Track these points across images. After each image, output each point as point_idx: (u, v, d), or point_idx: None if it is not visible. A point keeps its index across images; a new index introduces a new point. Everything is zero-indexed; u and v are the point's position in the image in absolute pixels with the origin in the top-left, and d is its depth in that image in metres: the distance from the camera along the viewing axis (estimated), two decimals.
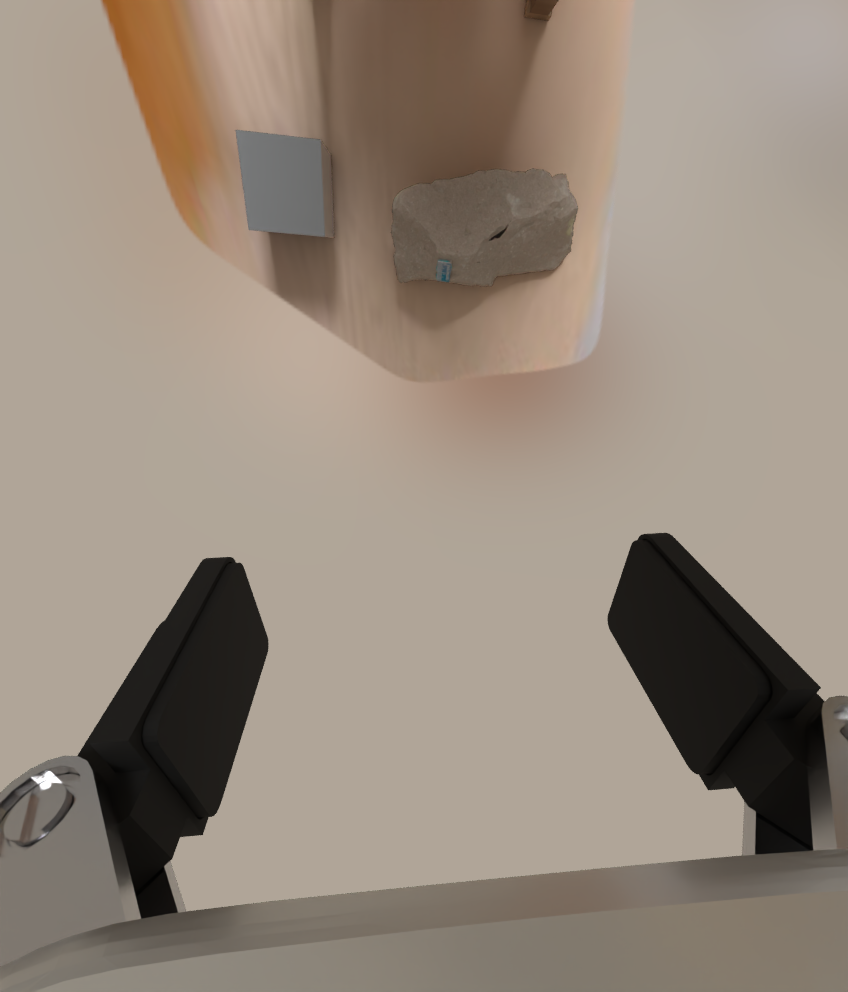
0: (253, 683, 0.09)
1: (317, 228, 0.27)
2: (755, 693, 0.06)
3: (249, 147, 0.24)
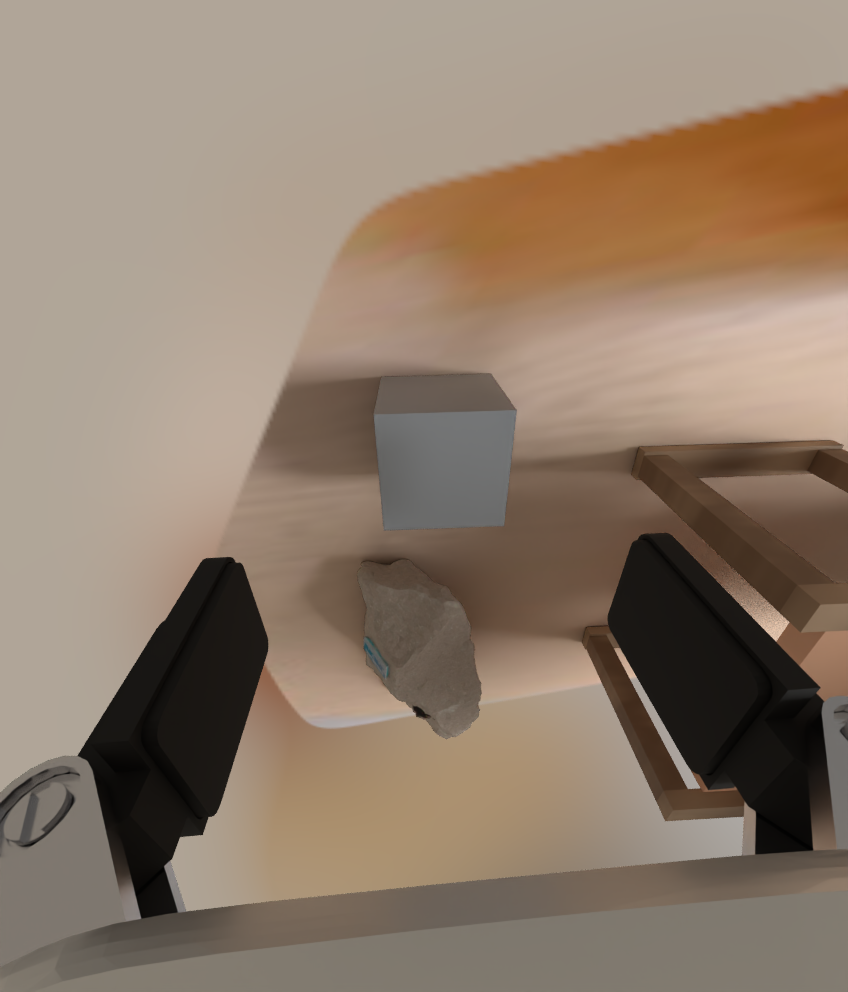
0: (253, 683, 0.09)
1: (393, 520, 0.16)
2: (755, 693, 0.06)
3: (493, 429, 0.14)
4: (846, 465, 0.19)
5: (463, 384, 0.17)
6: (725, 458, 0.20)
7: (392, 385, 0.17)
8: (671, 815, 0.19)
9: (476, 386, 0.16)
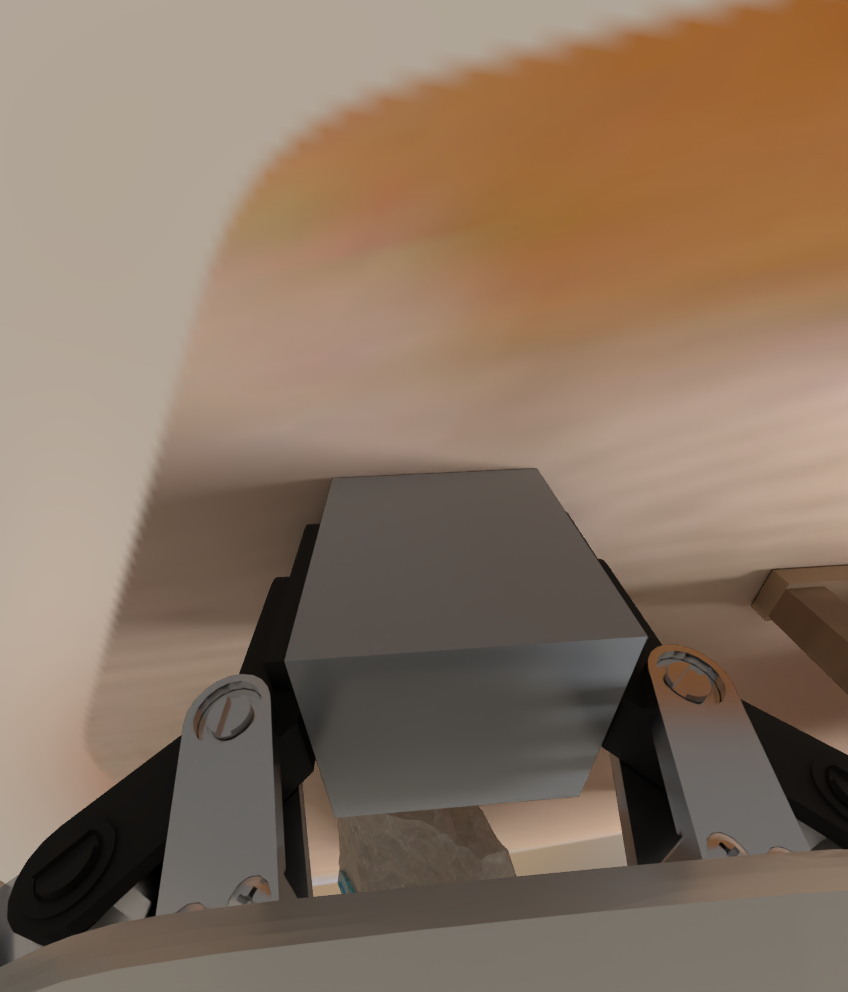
0: None
1: (354, 805, 0.08)
2: None
3: (585, 670, 0.06)
4: None
5: (493, 510, 0.08)
6: None
7: (349, 512, 0.08)
8: None
9: (520, 516, 0.08)
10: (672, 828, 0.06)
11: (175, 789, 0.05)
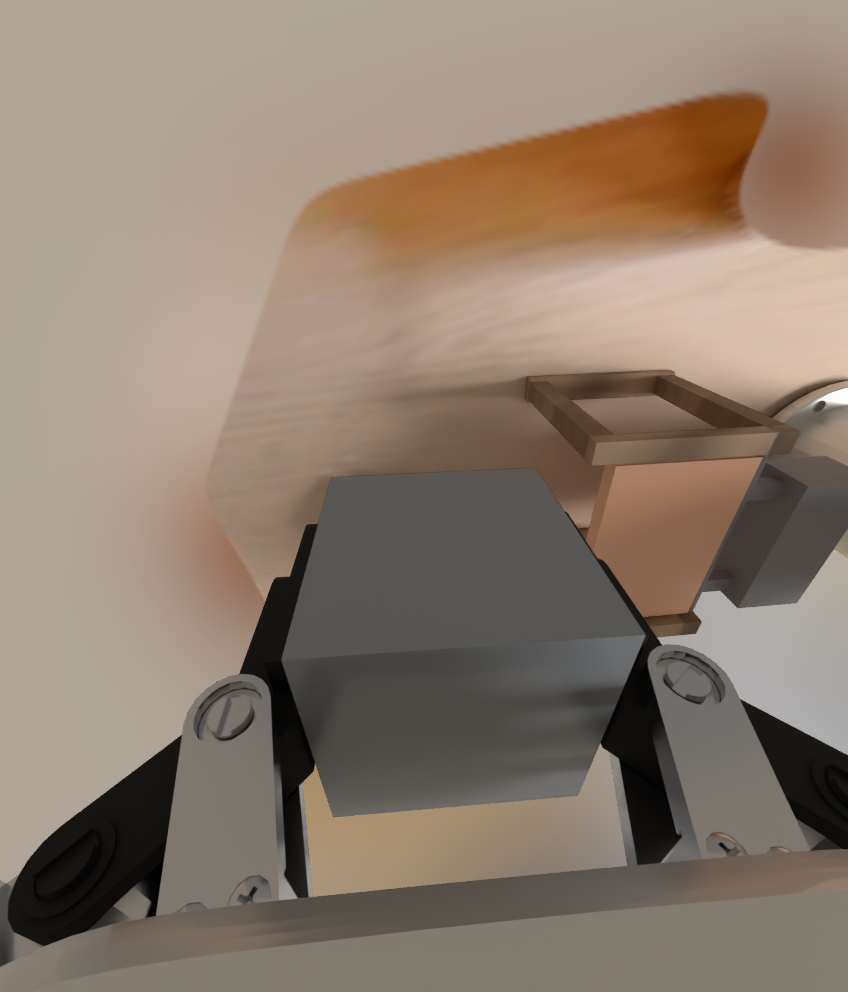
0: None
1: (352, 804, 0.08)
2: None
3: (583, 669, 0.06)
4: (670, 384, 0.26)
5: (492, 509, 0.08)
6: (590, 383, 0.27)
7: (348, 511, 0.08)
8: None
9: (518, 514, 0.08)
10: (673, 828, 0.06)
11: (175, 789, 0.05)
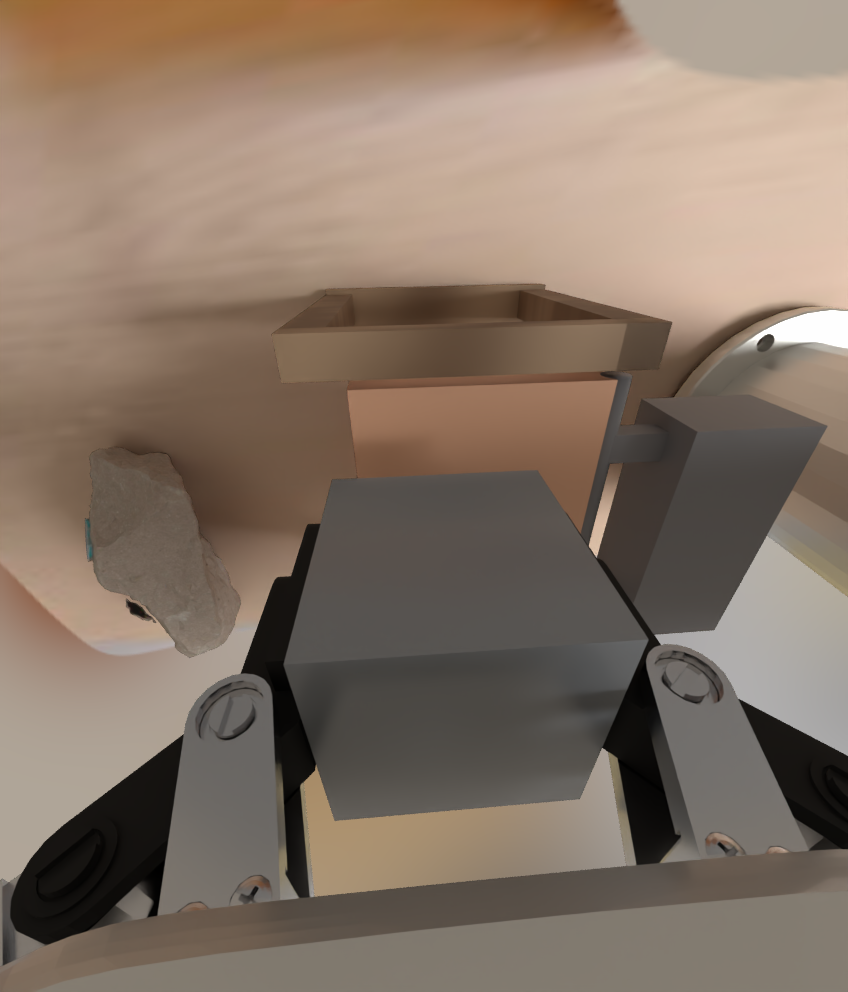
0: None
1: (354, 808, 0.08)
2: None
3: (586, 673, 0.06)
4: (529, 296, 0.17)
5: (493, 512, 0.08)
6: (419, 299, 0.18)
7: (349, 514, 0.08)
8: None
9: (520, 518, 0.08)
10: (671, 828, 0.06)
11: (177, 788, 0.05)
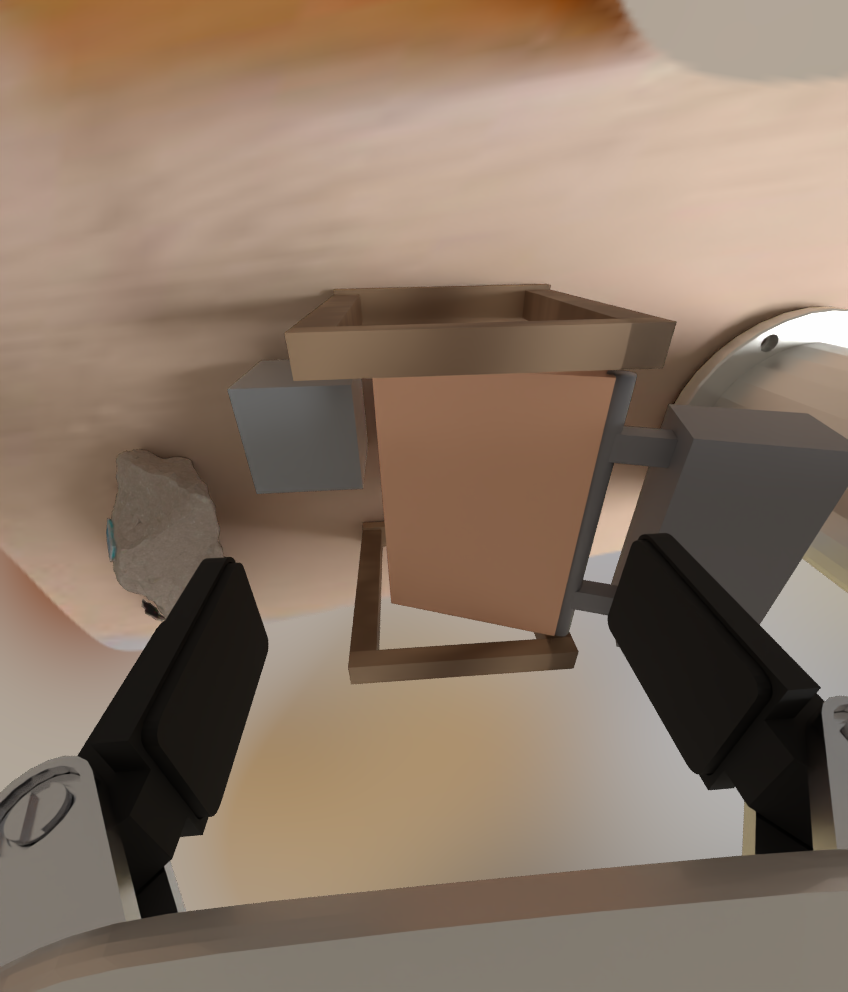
0: (253, 683, 0.09)
1: None
2: (755, 693, 0.06)
3: None
4: (535, 296, 0.18)
5: None
6: (426, 299, 0.19)
7: None
8: (352, 675, 0.17)
9: None
10: None
11: None
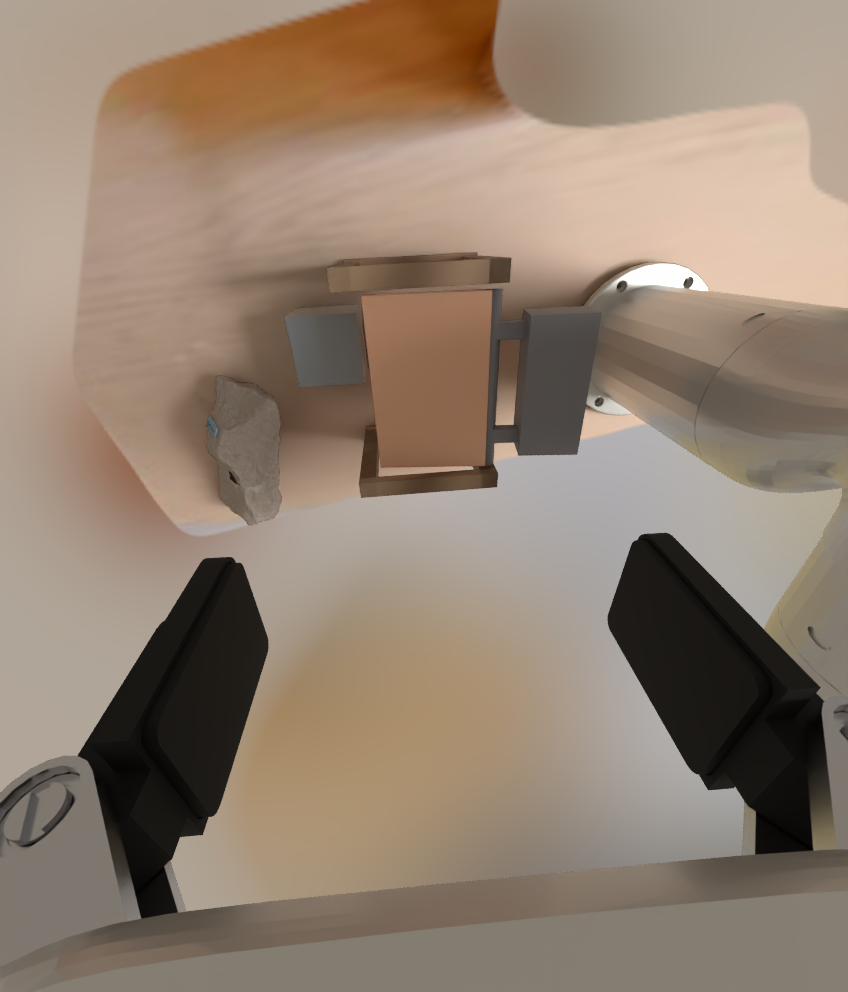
0: (253, 683, 0.09)
1: None
2: (755, 693, 0.06)
3: None
4: (465, 258, 0.29)
5: (333, 311, 0.29)
6: None
7: (340, 306, 0.32)
8: (361, 490, 0.29)
9: (329, 312, 0.29)
10: None
11: None
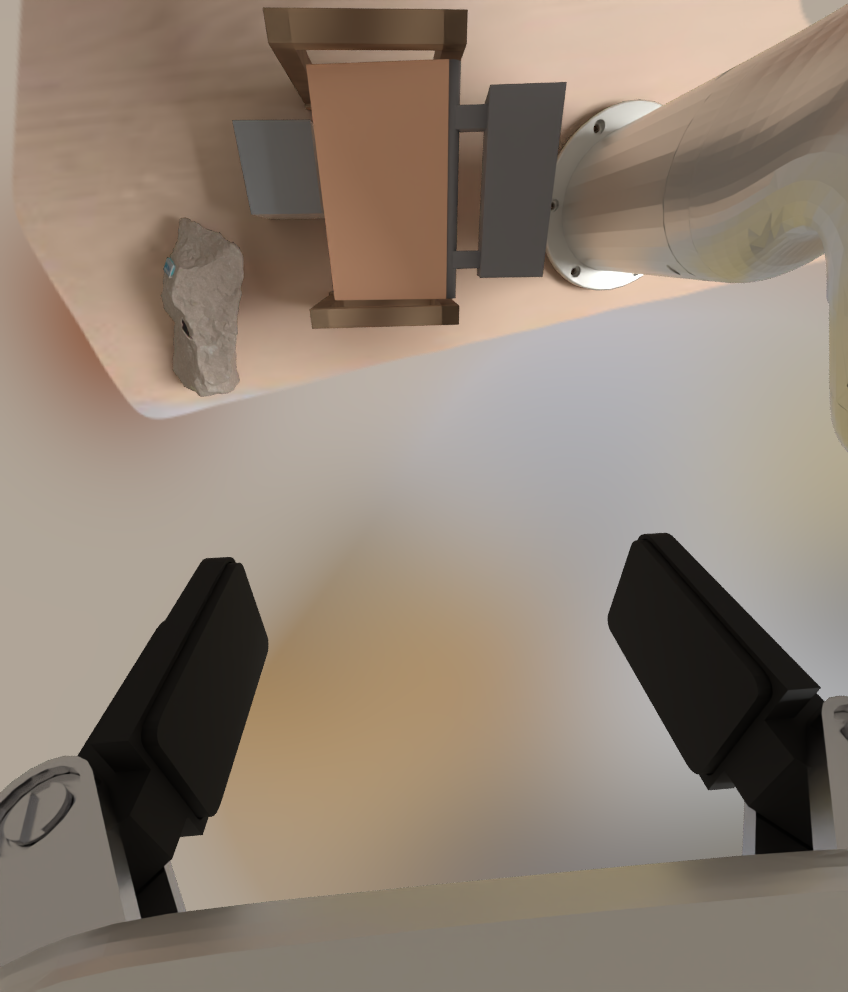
0: (253, 683, 0.09)
1: None
2: (755, 693, 0.06)
3: None
4: None
5: None
6: None
7: None
8: (312, 318, 0.27)
9: None
10: None
11: None
